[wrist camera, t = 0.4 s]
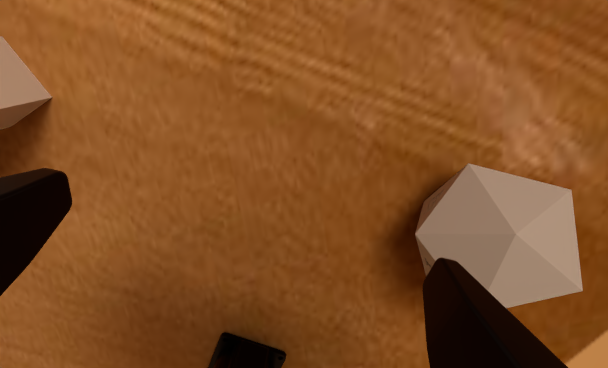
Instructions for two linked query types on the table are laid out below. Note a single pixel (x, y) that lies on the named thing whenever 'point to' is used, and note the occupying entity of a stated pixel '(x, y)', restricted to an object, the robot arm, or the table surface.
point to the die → (503, 234)
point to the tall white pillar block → (17, 88)
